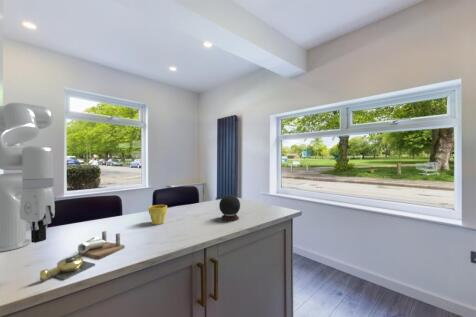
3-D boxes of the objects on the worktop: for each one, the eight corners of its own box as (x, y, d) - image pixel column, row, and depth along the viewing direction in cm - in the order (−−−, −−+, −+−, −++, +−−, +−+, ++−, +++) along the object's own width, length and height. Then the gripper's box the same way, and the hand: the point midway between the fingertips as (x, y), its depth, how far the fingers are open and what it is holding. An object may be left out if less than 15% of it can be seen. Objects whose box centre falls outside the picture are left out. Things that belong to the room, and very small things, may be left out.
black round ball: (239, 215, 144) (239, 193, 144) (241, 221, 131) (241, 196, 131) (219, 216, 143) (219, 193, 143) (219, 222, 130) (218, 196, 130)
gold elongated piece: (33, 278, 68) (33, 268, 68) (74, 261, 79) (74, 252, 79) (47, 282, 65) (47, 272, 65) (87, 264, 76) (87, 255, 76)
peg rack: (78, 254, 86) (78, 238, 86) (104, 244, 97) (104, 230, 97) (99, 259, 82) (99, 242, 82) (124, 248, 92) (124, 233, 92)
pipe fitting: (107, 246, 92) (91, 244, 92) (108, 237, 92) (92, 235, 92) (94, 254, 84) (77, 253, 84) (95, 244, 84) (78, 242, 84)
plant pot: (145, 223, 129) (145, 206, 129) (162, 219, 136) (162, 203, 136) (152, 227, 121) (152, 209, 121) (170, 223, 128) (170, 206, 128)
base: (44, 274, 71) (44, 272, 71) (76, 260, 81) (76, 259, 81) (63, 280, 68) (63, 278, 68) (95, 265, 77) (95, 263, 77)
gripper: (10, 185, 70) (10, 242, 70) (38, 186, 65) (38, 248, 64) (38, 182, 77) (38, 235, 77) (66, 183, 72) (66, 239, 71)
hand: (38, 241), depth 71 cm, fingers closed
